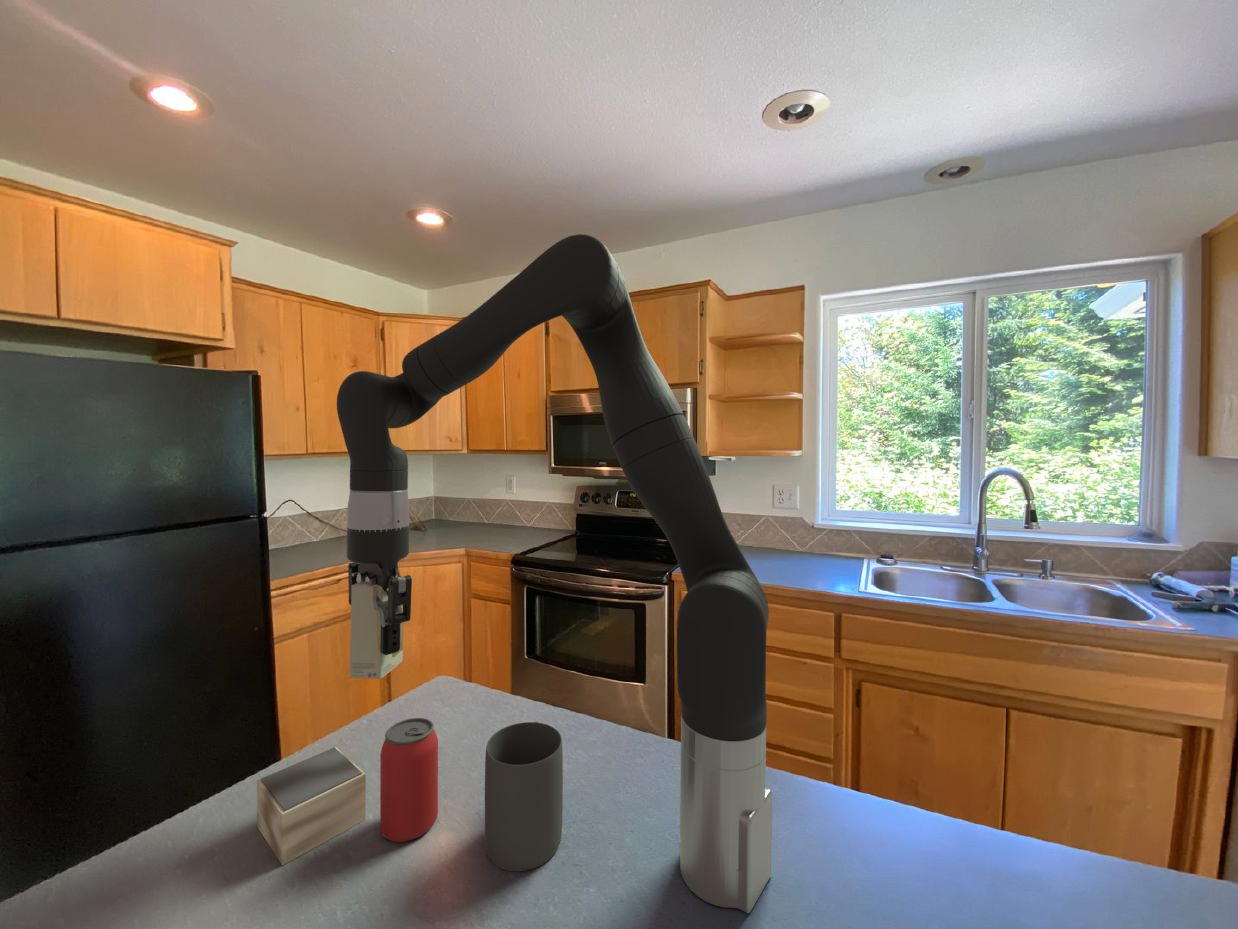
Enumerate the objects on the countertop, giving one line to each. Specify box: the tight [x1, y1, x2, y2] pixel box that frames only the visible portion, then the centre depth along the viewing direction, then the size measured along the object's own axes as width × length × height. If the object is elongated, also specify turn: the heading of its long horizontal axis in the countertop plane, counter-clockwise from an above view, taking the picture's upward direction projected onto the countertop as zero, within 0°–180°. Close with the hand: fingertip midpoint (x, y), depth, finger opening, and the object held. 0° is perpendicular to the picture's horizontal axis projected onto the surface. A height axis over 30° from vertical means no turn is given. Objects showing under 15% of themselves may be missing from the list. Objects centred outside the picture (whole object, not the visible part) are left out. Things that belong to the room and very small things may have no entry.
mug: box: [484, 721, 564, 872], centre depth 60 cm, size 14×9×12 cm
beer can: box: [379, 717, 439, 843], centre depth 61 cm, size 7×7×12 cm
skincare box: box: [349, 581, 404, 680], centre depth 66 cm, size 6×4×12 cm
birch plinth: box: [256, 746, 366, 866], centre depth 61 cm, size 9×9×6 cm
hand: (377, 645), depth 66 cm, fingers closed on skincare box, 7 cm apart
